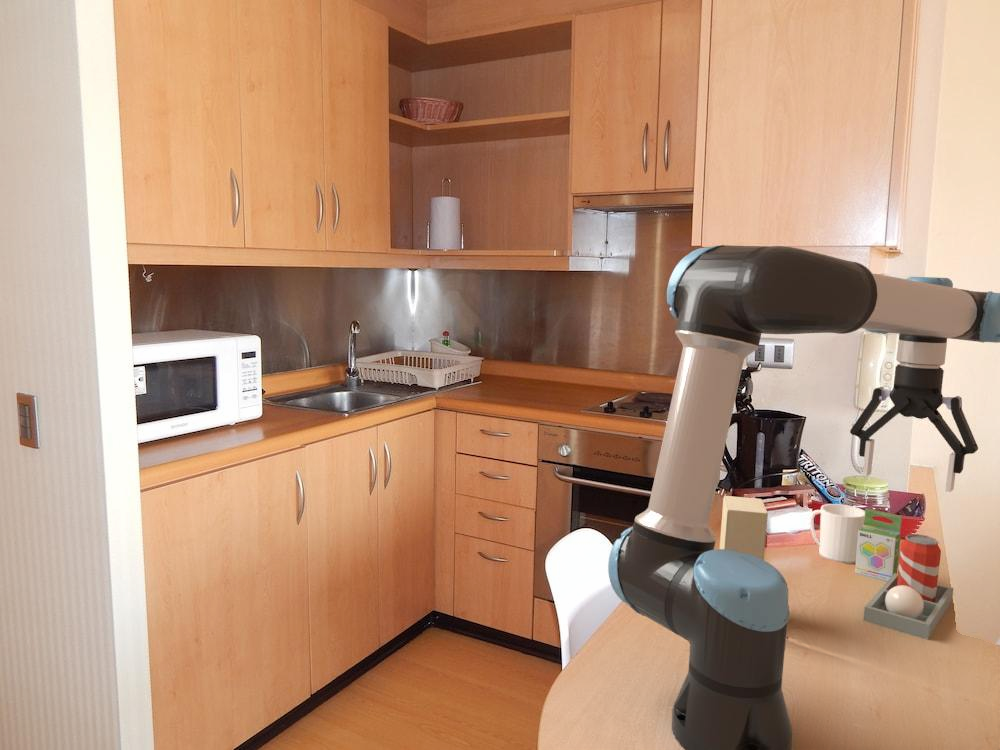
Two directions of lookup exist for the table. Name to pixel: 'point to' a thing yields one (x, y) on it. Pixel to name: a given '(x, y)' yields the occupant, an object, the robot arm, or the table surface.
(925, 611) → the tray
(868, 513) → the ink box
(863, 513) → the mug
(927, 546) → the beverage can
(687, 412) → the robot arm
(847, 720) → the table surface
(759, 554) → the beige tall block
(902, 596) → the egg
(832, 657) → the table surface
